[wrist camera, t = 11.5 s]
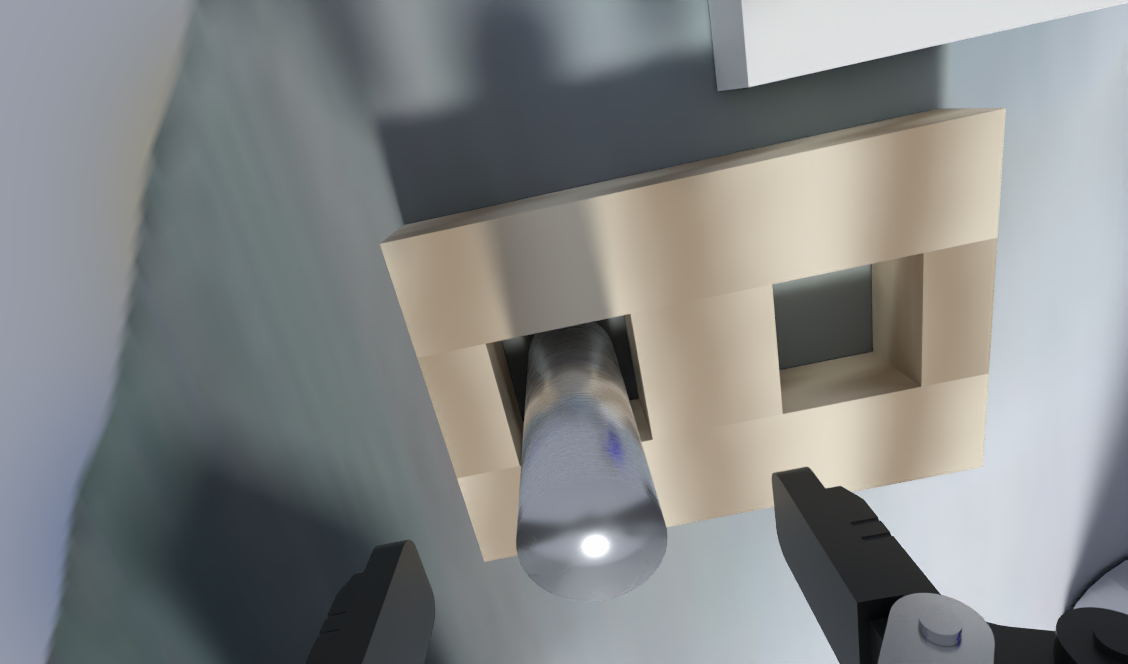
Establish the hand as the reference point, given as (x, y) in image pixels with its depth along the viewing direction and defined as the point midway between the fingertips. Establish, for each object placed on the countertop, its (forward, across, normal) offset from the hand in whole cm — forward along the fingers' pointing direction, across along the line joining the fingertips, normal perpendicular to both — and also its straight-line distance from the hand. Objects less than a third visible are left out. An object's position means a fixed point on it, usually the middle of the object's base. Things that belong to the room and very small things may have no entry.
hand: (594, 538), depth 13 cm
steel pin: (+10, 0, 0) cm, 10 cm away
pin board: (+10, -4, 0) cm, 10 cm away
